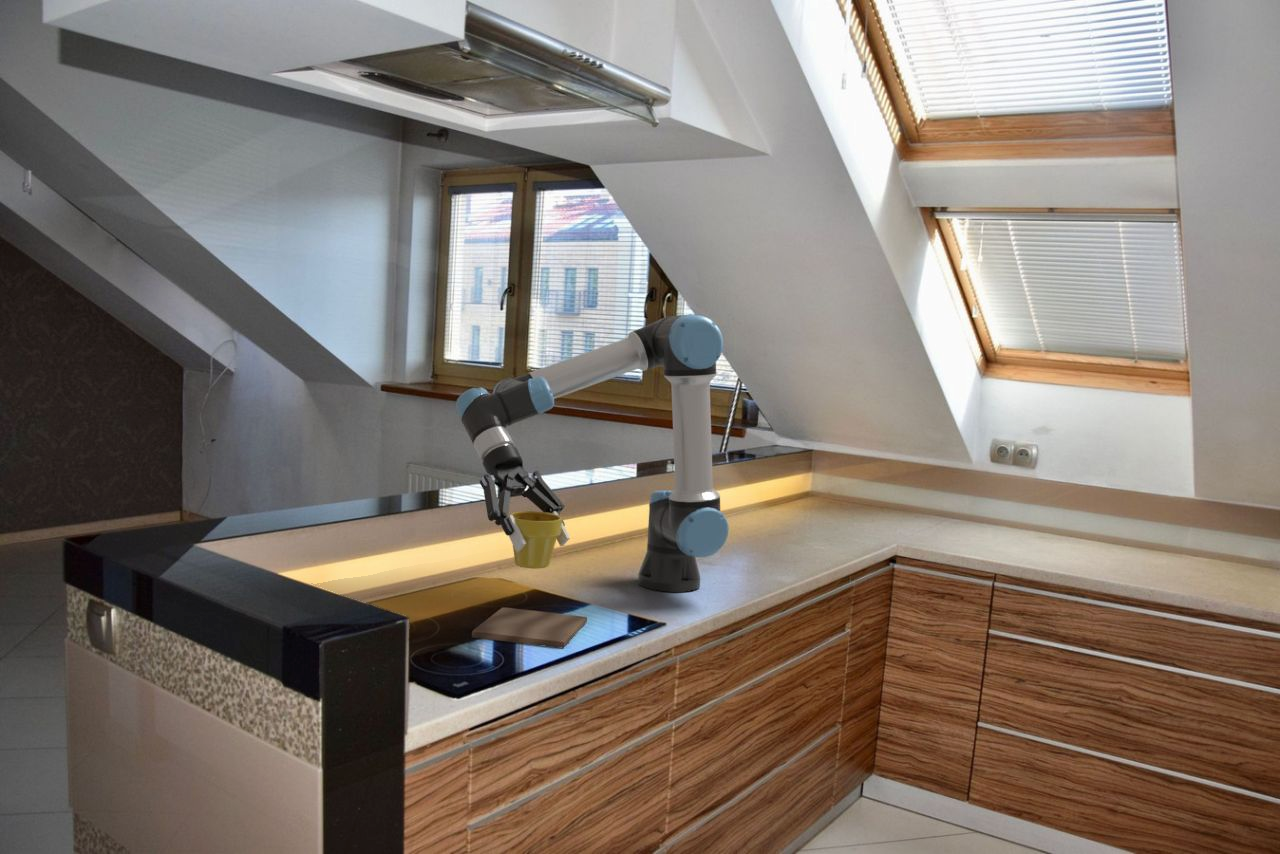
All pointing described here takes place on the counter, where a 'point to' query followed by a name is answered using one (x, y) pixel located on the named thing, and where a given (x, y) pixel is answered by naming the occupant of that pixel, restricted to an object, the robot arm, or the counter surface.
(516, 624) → the walnut board
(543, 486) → the robot arm
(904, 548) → the counter surface
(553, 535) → the plant pot
